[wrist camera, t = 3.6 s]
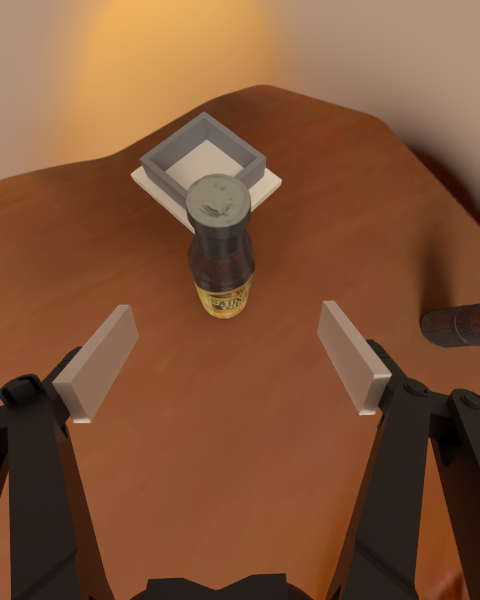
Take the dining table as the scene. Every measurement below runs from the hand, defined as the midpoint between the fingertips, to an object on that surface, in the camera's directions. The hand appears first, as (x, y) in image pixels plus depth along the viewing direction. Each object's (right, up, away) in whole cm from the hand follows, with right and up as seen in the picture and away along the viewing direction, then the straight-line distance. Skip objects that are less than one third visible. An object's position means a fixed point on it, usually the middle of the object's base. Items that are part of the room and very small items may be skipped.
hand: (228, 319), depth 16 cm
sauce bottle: (-1, +2, +17) cm, 17 cm away
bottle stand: (-5, +21, +22) cm, 30 cm away
